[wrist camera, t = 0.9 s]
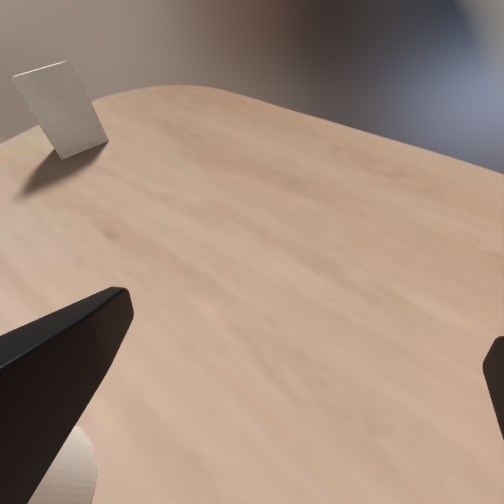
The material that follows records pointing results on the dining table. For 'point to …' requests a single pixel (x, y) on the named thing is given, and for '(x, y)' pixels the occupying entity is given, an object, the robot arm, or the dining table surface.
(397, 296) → the dining table surface
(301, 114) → the dining table surface
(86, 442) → the white cylinder
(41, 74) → the light grey box
